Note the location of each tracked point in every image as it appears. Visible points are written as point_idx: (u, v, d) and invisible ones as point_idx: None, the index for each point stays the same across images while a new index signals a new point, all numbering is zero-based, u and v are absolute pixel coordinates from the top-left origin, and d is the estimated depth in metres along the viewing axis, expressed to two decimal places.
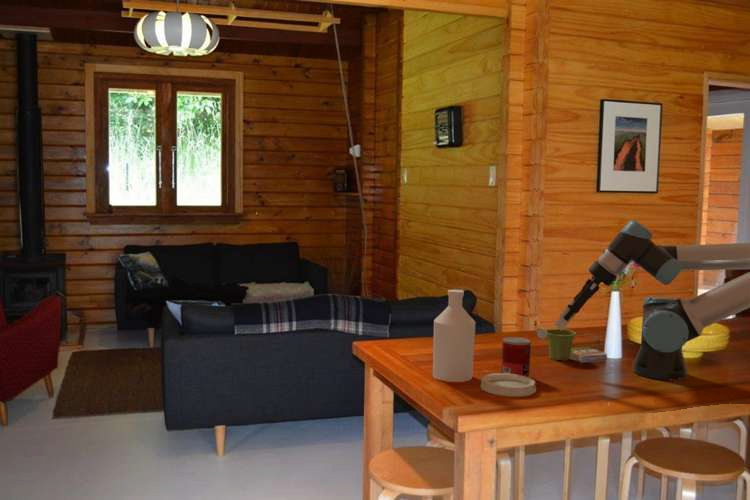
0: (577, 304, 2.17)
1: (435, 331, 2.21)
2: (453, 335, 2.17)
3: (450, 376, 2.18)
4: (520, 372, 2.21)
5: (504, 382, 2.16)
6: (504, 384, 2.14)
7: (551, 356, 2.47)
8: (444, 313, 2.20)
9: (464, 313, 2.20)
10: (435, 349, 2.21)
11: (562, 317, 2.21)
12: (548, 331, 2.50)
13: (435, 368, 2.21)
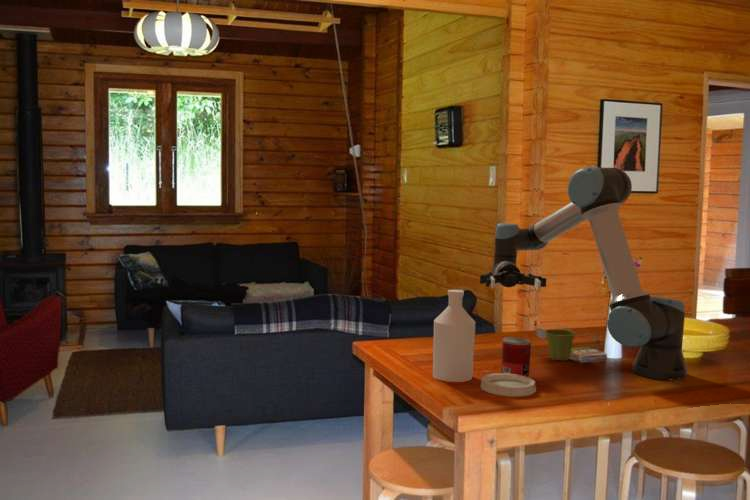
0: None
1: (435, 331, 2.21)
2: (453, 335, 2.17)
3: (450, 376, 2.18)
4: (520, 372, 2.21)
5: (504, 382, 2.16)
6: (504, 384, 2.14)
7: (551, 356, 2.47)
8: (444, 313, 2.20)
9: (464, 313, 2.20)
10: (435, 349, 2.21)
11: None
12: (548, 331, 2.50)
13: (435, 368, 2.21)
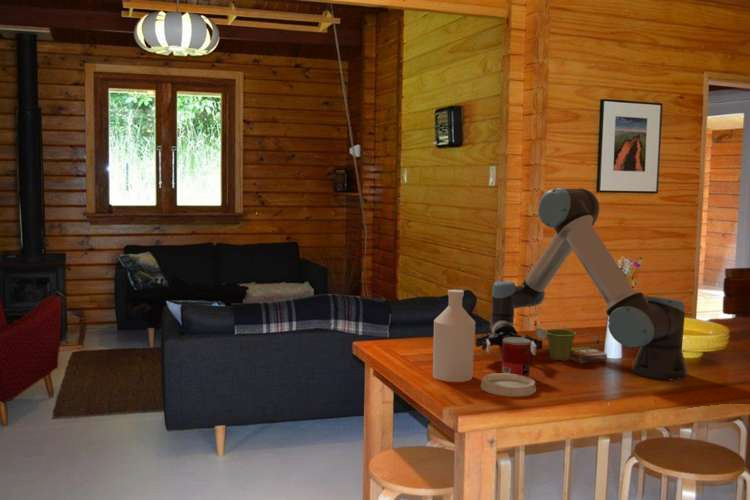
0: None
1: (435, 331, 2.21)
2: (453, 335, 2.17)
3: (450, 376, 2.18)
4: (520, 372, 2.21)
5: (504, 382, 2.16)
6: (504, 384, 2.14)
7: (551, 356, 2.47)
8: (444, 313, 2.20)
9: (464, 313, 2.20)
10: (435, 349, 2.21)
11: (486, 349, 2.35)
12: (548, 331, 2.50)
13: (435, 368, 2.21)
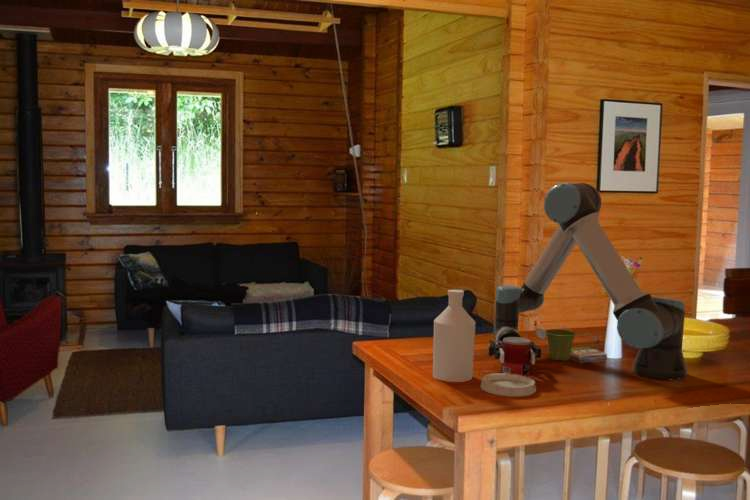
0: None
1: (435, 331, 2.21)
2: (453, 335, 2.17)
3: (450, 376, 2.18)
4: (520, 372, 2.21)
5: (504, 382, 2.16)
6: (504, 384, 2.14)
7: (551, 356, 2.47)
8: (444, 313, 2.20)
9: (464, 313, 2.20)
10: (435, 349, 2.21)
11: (500, 358, 2.23)
12: (548, 331, 2.50)
13: (435, 368, 2.21)
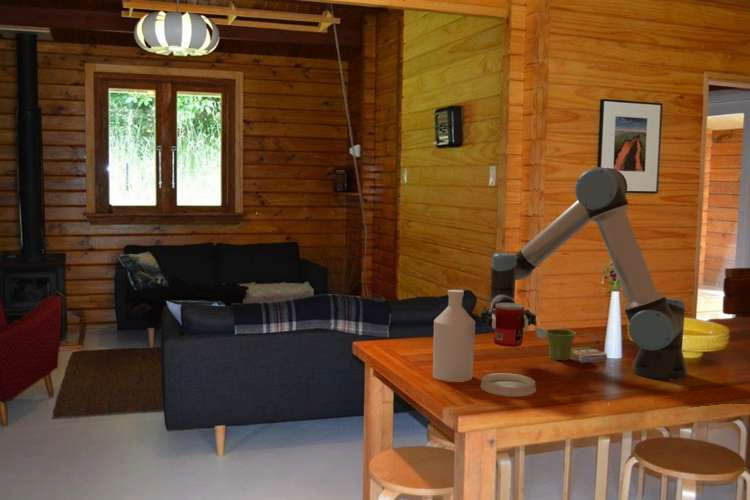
0: None
1: (435, 331, 2.21)
2: (453, 335, 2.17)
3: (450, 376, 2.18)
4: (512, 338, 2.12)
5: (504, 382, 2.16)
6: (504, 384, 2.14)
7: (551, 356, 2.47)
8: (444, 313, 2.20)
9: (464, 313, 2.20)
10: (435, 349, 2.21)
11: (492, 324, 2.14)
12: (548, 331, 2.50)
13: (435, 368, 2.21)
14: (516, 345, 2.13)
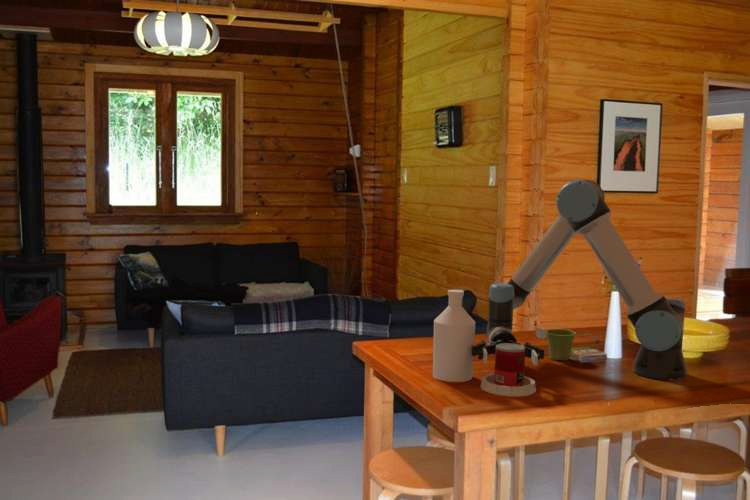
0: None
1: (435, 331, 2.21)
2: (453, 335, 2.17)
3: (450, 376, 2.18)
4: (514, 380, 2.09)
5: None
6: None
7: (551, 356, 2.47)
8: (444, 313, 2.20)
9: (464, 313, 2.20)
10: (435, 349, 2.21)
11: (483, 358, 2.12)
12: (548, 331, 2.50)
13: (435, 368, 2.21)
14: None
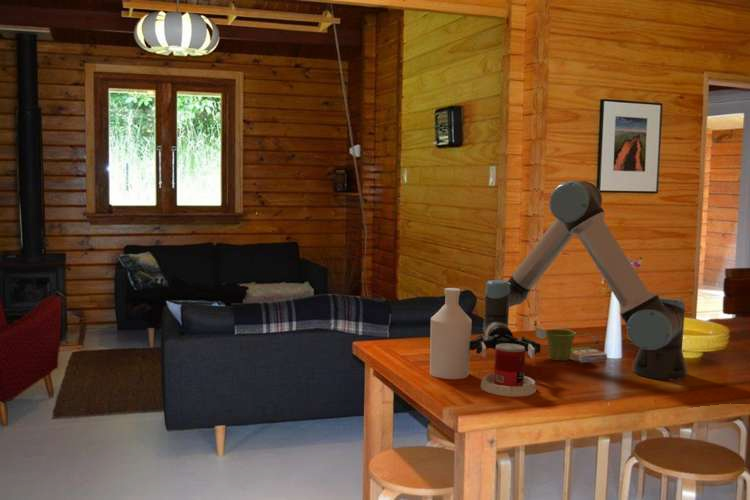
0: None
1: (435, 330, 2.21)
2: (456, 333, 2.19)
3: (453, 373, 2.21)
4: (514, 380, 2.09)
5: None
6: None
7: (551, 356, 2.47)
8: (443, 312, 2.22)
9: (462, 310, 2.23)
10: (436, 348, 2.22)
11: (481, 352, 2.19)
12: (548, 331, 2.50)
13: (436, 367, 2.22)
14: None
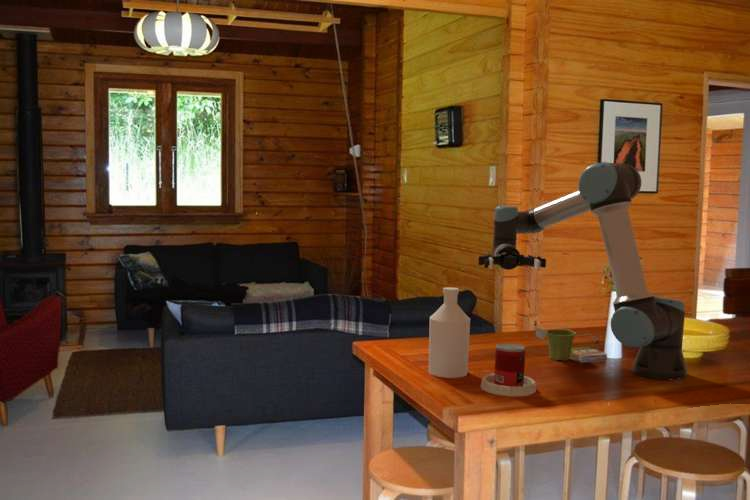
0: None
1: (438, 330, 2.22)
2: (459, 332, 2.21)
3: (456, 372, 2.22)
4: (514, 380, 2.09)
5: None
6: None
7: (551, 356, 2.47)
8: (444, 311, 2.23)
9: (461, 309, 2.25)
10: (438, 348, 2.22)
11: (489, 265, 2.31)
12: (548, 331, 2.50)
13: (439, 367, 2.23)
14: None
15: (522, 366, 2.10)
